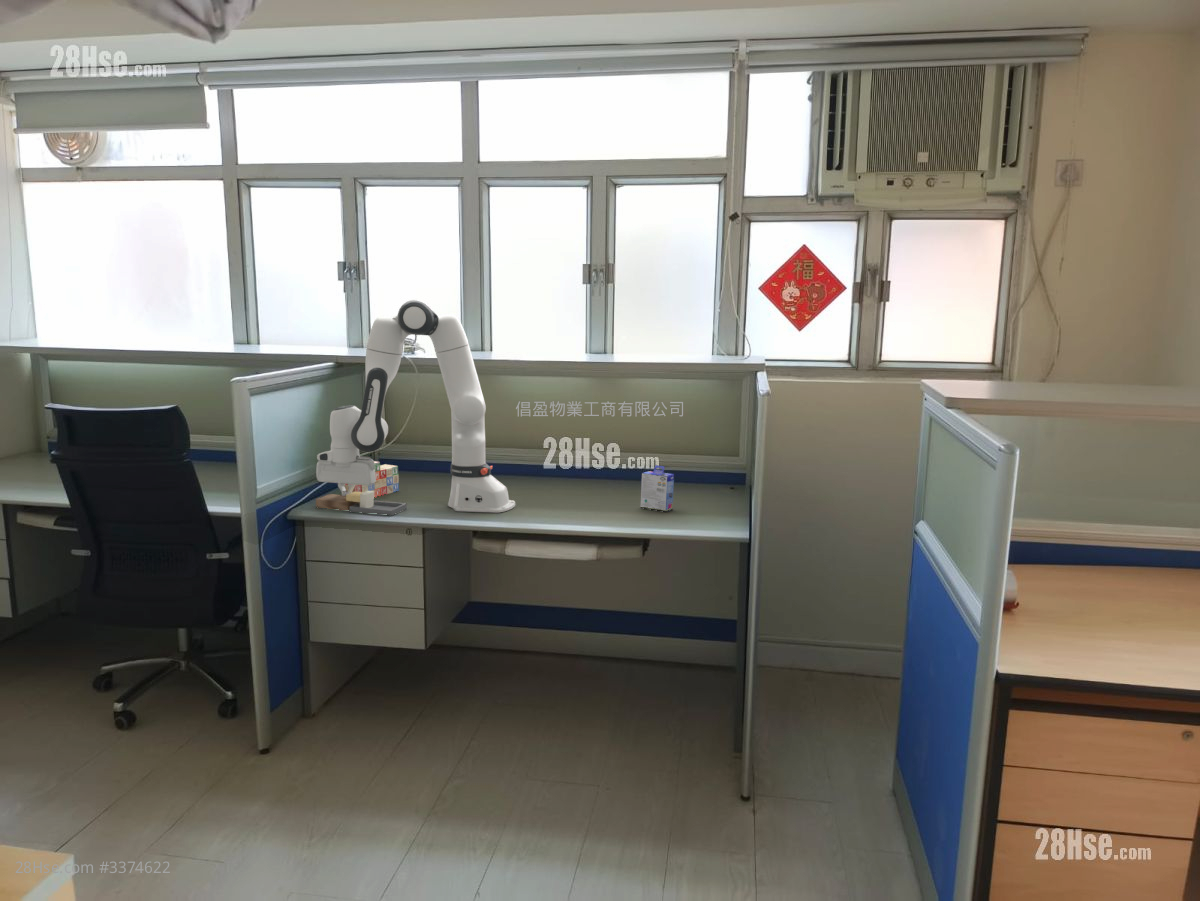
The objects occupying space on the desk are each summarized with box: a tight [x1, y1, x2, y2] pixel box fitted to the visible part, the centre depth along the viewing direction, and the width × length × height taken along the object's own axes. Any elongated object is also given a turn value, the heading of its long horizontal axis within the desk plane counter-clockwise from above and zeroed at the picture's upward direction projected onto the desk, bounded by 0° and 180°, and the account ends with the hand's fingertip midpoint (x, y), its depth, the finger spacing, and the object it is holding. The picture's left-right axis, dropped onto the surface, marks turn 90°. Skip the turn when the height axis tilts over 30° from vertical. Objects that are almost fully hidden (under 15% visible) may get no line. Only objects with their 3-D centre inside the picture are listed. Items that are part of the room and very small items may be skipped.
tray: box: [348, 500, 408, 516], centre depth 263 cm, size 15×10×2 cm, turn 75°
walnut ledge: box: [315, 493, 360, 511], centre depth 267 cm, size 12×8×3 cm, turn 75°
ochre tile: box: [346, 491, 364, 502], centre depth 264 cm, size 5×5×2 cm
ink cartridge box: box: [640, 464, 675, 510], centre depth 271 cm, size 10×6×14 cm, turn 59°
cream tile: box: [360, 491, 375, 508], centre depth 264 cm, size 5×5×2 cm
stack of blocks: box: [344, 460, 400, 498], centre depth 282 cm, size 21×6×12 cm, turn 152°
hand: (347, 496), depth 266 cm, fingers closed
